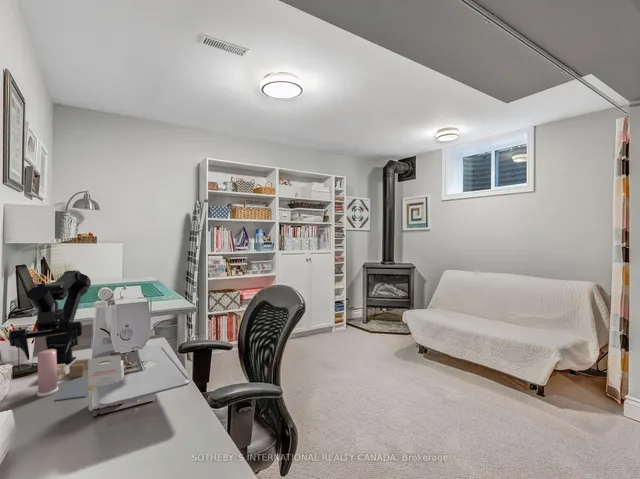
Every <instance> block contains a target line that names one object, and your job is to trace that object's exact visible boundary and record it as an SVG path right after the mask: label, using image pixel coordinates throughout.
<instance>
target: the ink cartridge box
mask: <svg viewBox="0 0 640 479" xmlns="http://www.w3.org/2000/svg"><path fill="white" fill-rule="evenodd" d="M88 359H89V360H88V371H87V372H86V373H87V378H88V395H87V399H88V402H87V403H88V411H89V412H91V411H93V410H92V396H93V392H94V391H95V388H96V386H105V385H110V384H114V383H120V382H122V381H123V377H124V378H125V370H124V359H123V360H122V356H121V355H120V354H117V355H112V356H111V355H110V356H103V357H97V358H88ZM104 361H106V362H104ZM108 361H109V362H108ZM100 362H103V363H100Z"/></svg>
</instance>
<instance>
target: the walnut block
mask: <svg viewBox="0 0 640 479" xmlns="http://www.w3.org/2000/svg"><path fill="white" fill-rule="evenodd" d="M89 359H90V358H87V359H86V358H84V359H77V360H76V359H75V360H74V361H73V363H71V364H69V378H77V377H84V376H85V374H86V373H88V372H87V371H88V360H89Z"/></svg>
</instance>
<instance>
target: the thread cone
mask: <svg viewBox="0 0 640 479" xmlns="http://www.w3.org/2000/svg"><path fill="white" fill-rule="evenodd" d="M37 384H38V386H37V388H38V389H37V392H36V396H37V397H39V398H42V397H49V396H52V395H54V394H56V393H58V392H59V386H58V380H57V354H56V350H55V349H46V350H45V349H44V350H41V351H39V352H37Z"/></svg>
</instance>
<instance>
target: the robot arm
mask: <svg viewBox="0 0 640 479" xmlns="http://www.w3.org/2000/svg"><path fill="white" fill-rule="evenodd" d="M91 285H92V282H91V279H90V277H89V276H88V275H86V274H84V273H82V272H80V270H65V271H63V274H62V275H61V276H60V277H59V278H57V280H55V281H53V282H51V283H37V286H35V287H32V288H31V289H30V290H29V291H27V293H26V297H27V299H28V300H29V302H30V304H31V305H32V306H33V308H35V309H37V314H36V321H35V329H36V330H35V331H28V332H27V328H21V329H13V330H11V331H10V332H9V333H8V341H9V345H10V347H15V348H17V349H19V348H20V349H21V351H22V352H23V354H24V356H25V357H26V360H27V361H30V350H29V345H28V344H29V343H28V339H34V338H43V337H45V343H46V348H47V350H50V349H55V350H56V354H57V364H65V365H71V364H72V362H74V361H75V360H76V359H77V356H73V348H74V347H76V346H78V345H79V337H81V336H83V335H82V334H83V327H82V325H83V323H82V321H81V320H80V321H74V320H75V318H76V314H77V312H78V311H77V310H78V309H79V305H80V301H81V299H82V298H81V297H83V296H84V295H85V294H87V293H88V291H89V288H91ZM64 300H65V302H64V304H63V306H62V308H59V302H58V301H64Z"/></svg>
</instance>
